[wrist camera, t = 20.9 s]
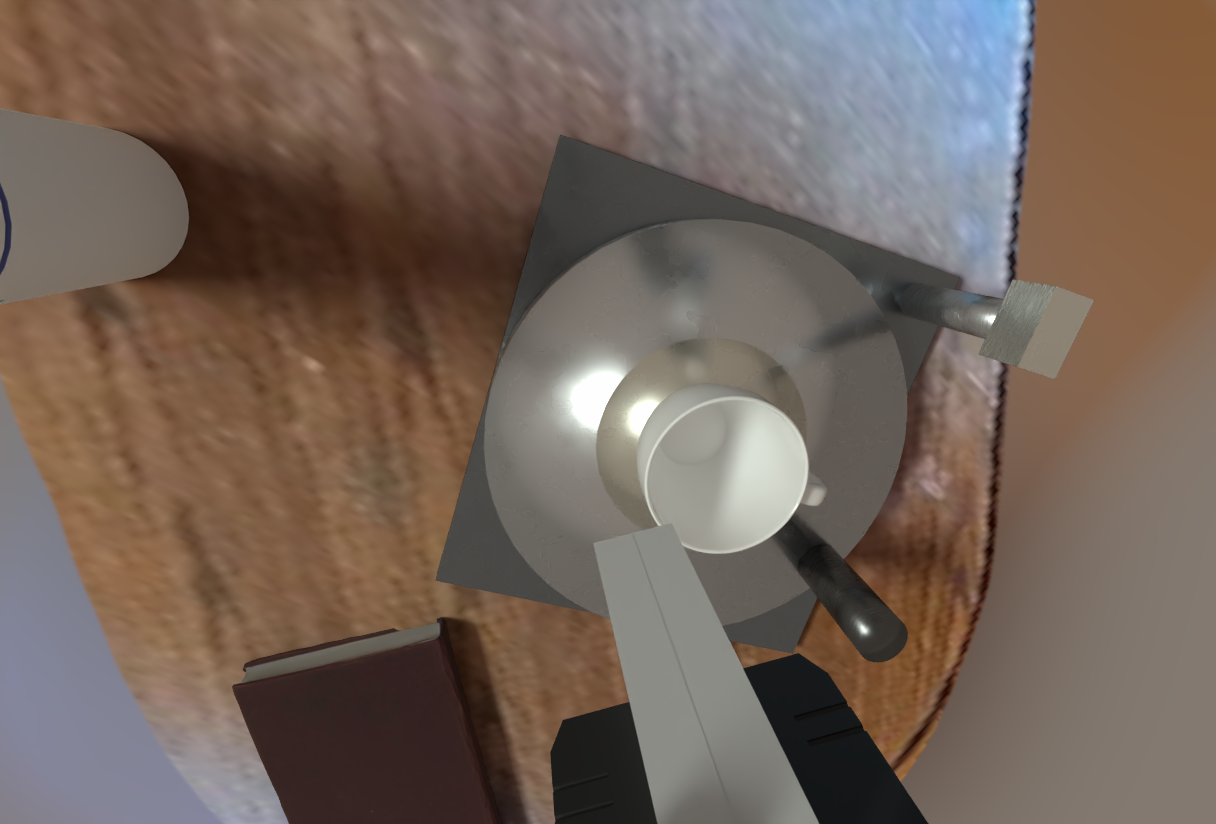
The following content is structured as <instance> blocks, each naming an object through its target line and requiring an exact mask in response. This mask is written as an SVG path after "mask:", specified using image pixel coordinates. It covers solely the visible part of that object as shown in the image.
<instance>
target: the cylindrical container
mask: <svg viewBox="0 0 1216 824" xmlns="http://www.w3.org/2000/svg"><path fill="white" fill-rule="evenodd" d="M188 224H189V213H188V203H187V200H186V197H185V194H184V190H183V187H182V186H181V184H180V182H179V180H178V178H177V176H176V174H175V173H174V171H173V170H172V169H171V167H170V166H169V165H168V163H167V162H166V161H165V160H164V159H163V158H162V157H161V156H160V155H159V154H158V153H157V152H156V151H155V150H153V149H152V148H151V147H149V146H148V145H146V144H145V143H143V142H142V141H141V140H138V139H136V138H134V137H132V136H130V135H128V134H126V133H123V132H120V131H116V130H112V129H109V128H104V127H99V126H93V125H88V124H82V123H77V122H71V121H66V120H60V119H55V118H50V117H44V116H39V115H33V114H28V113H23V112H17V111H12V110H7V109H2V108H0V305H1V304H6V303H11V302H16V301H22V300H27V299H32V298H37V297H42V296H48V295H53V294H58V293H63V292H68V291H74V290H79V289H84V288H89V287H94V286H100V285H105V284H110V283H115V282H120V281H126V280H131V279H136V278H141V277H145V276H147V275H150V274H153V273H156V272H157V271H159V270H161V269H162V268H164V267H165V266H167V265H168V264H169V263H170V262H171V261H172V260H173V259H174V258H175V257H176V256H177V254H178V253H179V251H180V250H181V248H182V246H183V244H184V241H185V238H186V236H187V232H188Z"/></svg>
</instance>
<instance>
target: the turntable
mask: <svg viewBox="0 0 1216 824" xmlns="http://www.w3.org/2000/svg"><path fill="white" fill-rule="evenodd" d="M698 383H725V384H731V385H735V386H739V387H743V388H745V389H748V390H750V391H753V392H755V393H757V394H758V395H760V396H762V397H763V398H765V399H766V400H768V401H769V402H771V403H772V404H773V405H775V406H776V407H777V408H779V409H780V410H781V411H782V412H784V413H785V414H786V415H787V416H788V417H789V418H790V419H791V420H792V421H793V422H794V424H795V425H796V426H797V428H798V429H799V431H800V433H801V434H802V436H803V439H804V441H805V444H806V447H807V451H808V457H809V471H810V472H812V473H813V474H815V475H816V476H817V477H819V478H820V479H821V480H822V481H823V482H824V484H825V485H826V487H827V494H826V496H825V499H824V501H823V502H822V503H821V504H820V505H818V506H809V505H804V504H800V505H799V506H798V508H797V510H796V511H795V513H794V514H793V516H792V517H791V518H790V520H789V521H788V522H787V523H786V524H785V525H784V526H783V527H782V528H781V529H780V530H779V531H778V532H777V533H775V534H774V535H773V536H771V537H770V538H768V539H767V540H765V541H764V542H762V543H760V544H758V545H756V546H754V547H751V548H748V549H746V550H742V551H738V552H734V553H726V554H710V553H703V552H698V551H695V550H692V549H689V548H686V547H684V546H683V547H684V549H685V551H686V553H687V555H688V558H689V560H690V562H691V564H692V566H693V568H694V570H695V572H696V574H697V576H698V578H699V580H700V582H701V584H702V586H703V588H704V590H705V592H706V594H707V596H708V598H709V600H710V602H711V604H712V606H713V608H714V611H715V613H716V615H717V617H718V619H719V621H720V623H721V625H722V626H723V625H728V624H732V623H737V622H740V621H743V620H746V619H749V618H752V617H755V616H758V615H761V614H763V613H766V612H768V611H770V610H772V609H774V608H776V607H778V606H780V605H783V604H785V603H787V602H788V601H790V600H791V599H793V598H795V597H796V596H798V595H800V594H801V593H803V592H805V591H806V590H808V589H809V588H810V589H811V590H812V591H813V593H814V594H815V595H816V597H817V598H818V599H819V600H820V602H821V603H822V604H823V606H824V607H825V608H826V610H827V611H828V612H829V613H830V615H831V616H832V617H833V619H834V620H835V621H836V623H837V624H838V625H839V626H840V628H841V629H842V630H843V632H844V633H845V634H846V636H847V637H848V638H849V639H850V641H851V642H852V643H853V645H854V646H855V647H856V649H857V650H858V651H859V652H860V654H861V655H862V656H863V657H864V658H865V659H867V660H869V661H872V662H883V661H887V660H890V659H892V658H893V657H895V656H896V655H897V654H899V653H900V652H901V650H902V649H903V648H904V646H905V644H906V641H907V636H908V633H907V629H906V627H905V625H904V624H903V623H902V621H901V620H900V619H899V618H898V617H897V616H896V615H895V614H894V613H893V612H892V611H891V610H890V609H889V607H888V606H887V605H886V604H885V603H884V602H883V601H882V600H881V599H880V598H879V597H878V596H877V595H876V593H875V592H874V591H873V590H872V589H871V588H870V587H869V586H868V585H867V584H866V583H865V582H864V580H863V579H862V578H861V577H860V576H859V575H858V574H857V573H856V572H855V571H854V570H853V569H852V568H851V566H850V565H849V564H848V563H847V562H846V561H845V560H844V558H845V557H846V556H847V555H848V554H849V553H850V552H851V550H852V549H853V548H854V547H855V546H856V545H857V543H858V542H859V541H860V540H861V539H862V537H863V536H864V535H865V533H866V532H867V530H868V529H869V527H870V526H871V524H872V523H873V521H874V520H875V518H876V517H877V515H878V513H879V511H880V509H881V507H882V505H883V503H884V501H885V500H886V498H887V496H888V494H889V492H890V489H891V486H892V484H893V481H894V478H895V476H896V473H897V470H898V467H899V463H900V459H901V455H902V451H903V447H904V442H905V434H906V424H907V388H906V381H905V375H904V369H903V363H902V360H901V357H900V353H899V350H898V347H897V344H896V340H895V338H894V336H893V333H892V331H891V329H890V327H889V325H888V323H887V321H886V318H885V316H884V314H883V313H882V311H881V310H880V308H879V307H878V305H877V304H876V302H875V301H874V299H873V298H872V296H871V295H870V293H869V292H868V291H867V290H866V289H865V288H864V286H863V285H862V284H861V283H860V282H859V281H858V280H857V279H856V278H855V276H854V275H853V274H852V273H851V272H850V271H848V270H847V269H846V268H845V267H844V266H842V265H841V264H840V263H839V262H838V261H836V260H835V259H834V258H833V257H832V256H830V255H829V254H827V253H826V252H824V251H822V250H821V249H819V248H817V247H816V246H814V245H812V244H811V243H809V242H807V241H805V240H803V239H801V238H798V237H796V236H793V235H791V234H789V233H786V232H784V231H781V230H779V229H775V228H771V227H767V226H763V225H759V224H755V223H751V222H742V221H732V220H723V219H685V220H677V221H671V222H665V223H659V224H654V225H650V226H647V227H644V228H641V229H638V230H634V231H631V232H628V233H625V234H623V235H621V236H619V237H616V238H614V239H612V240H610V241H608V242H606V243H604V244H602V245H600V246H598V247H596V248H594V249H593V250H591V251H590V252H588V253H587V254H585V255H584V256H582V257H581V258H579V259H578V260H576V261H574V262H573V263H572V264H570V265H569V266H568V267H567V268H566V269H565V270H563V271H562V272H561V273H560V274H559V275H558V276H556V277H555V278H554V279H553V280H552V281H551V282H550V283H549V284H548V285H547V286H546V287H545V288H544V289H543V290H542V292H541V293H540V294H539V295H538V296H537V297H536V298H535V299H534V300H533V302H532V303H531V304H530V305H529V307H528V308H527V310H526V311H525V313H524V314H523V315H522V317H521V318H520V320H519V321H518V323H517V324H516V326H515V327H514V329H513V331H512V333H511V335H510V337H509V339H508V341H507V343H506V345H505V347H504V349H503V351H502V353H501V355H500V358H499V361H498V364H497V367H496V370H495V373H494V376H493V379H492V383H491V388H490V393H489V399H488V404H487V410H486V417H485V433H484V454H485V465H486V475H487V479H488V483H489V487H490V492H491V496H492V500H493V503H494V505H495V508H496V510H497V513H498V515H499V518H500V520H501V523H502V525H503V527H504V529H505V530H506V532H507V534H508V536H509V537H510V539H511V541H512V543H513V544H514V546H515V548H516V549H517V550H518V552H519V553H520V554H521V555H522V557H523V558H524V559H525V561H526V562H527V563H528V565H529V566H530V567H531V568H532V569H533V570H534V571H535V572H536V573H537V574H538V575H539V576H540V577H541V578H542V579H543V580H544V581H545V582H546V583H547V584H548V585H550V586H551V587H552V588H554V589H555V590H556V591H558V592H559V593H560V594H562V595H563V596H564V597H566V598H567V599H569V600H570V601H572V602H574V603H576V604H578V605H579V606H581V607H583V608H585V609H587V610H588V611H590V612H593V613H595V614H598V615H600V616H603V617H605V618H608V619H610V614H609V610H608V605H607V601H606V597H605V592H604V588H603V584H602V579H601V575H600V571H599V566H598V562H597V558H596V553H595V549H594V544H593V543H596V542H599V541H603V540H607V539H611V538H615V537H619V536H623V535H627V534H630V533H634V532H638V531H642V530H646V529H650V528H654V527H658V524H657V523H656V521H655V520H654V518H653V516H652V514H651V512H650V510H649V508H648V506H647V503H646V501H645V499H644V496H643V493H642V490H641V487H640V483H639V479H638V474H637V464H636V455H637V446H638V441H639V437H640V434H641V431H642V428H643V426H644V424H645V422H646V420H647V418H648V417H649V415H650V414H651V412H652V411H653V410H654V409H655V407H656V406H657V405H658V404H659V403H660V402H661V401H662V400H664V399H665V398H666V397H667V396H669V395H670V394H672V393H674V392H675V391H677V390H679V389H681V388H684V387H687V386H690V385H694V384H698ZM610 620H611V619H610Z"/></svg>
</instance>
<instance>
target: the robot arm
mask: <svg viewBox="0 0 1216 824" xmlns="http://www.w3.org/2000/svg"><path fill="white" fill-rule="evenodd" d="M593 544H594V549H595V553H596V558H597V562H598V566H599V571H600V575H601V579H602V584H603V588H604V592H605V597H606V601H607V605H608V610H609V614H610V619H611V623H612V627H613V632H614V636H615V640H616V645H617V649H618V653H619V658H620V662H621V666H622V671H623V675H624V680H625V684H626V688H627V693H628V697H629V701H630V702H628V703H624V704H620V705H617V706H613V707H609V708H606V709H602V710H598V711H595V712H591V713H587V714H584V715H580V716H576V717H573V718H569V719H565V720H563V721H562V724H561V726H560V729H559V732H558V734H557V737H556V739H555V742H554V744H553V747H552V750H551V752H550V753H551V769H552V784H553V790H554V792H553V800H554V815H555V820H556V822H555V824H928V823H927V821H926V820H925V818H924V817H923V815H922V814H921V812H920V811H919V809H918V808H917V806H916V805H915V803H914V802H913V800H912V799H911V797H910V796H909V794H908V793H907V791H906V790H905V788H904V787H903V785H902V784H901V782H900V781H899V779H898V778H897V776H896V775H895V773H894V772H893V770H892V769H891V767H890V766H889V764H888V763H887V761H886V760H885V758H884V757H883V755H882V754H881V752H880V751H879V749H878V748H877V746H876V745H875V743H874V742H873V740H872V739H871V737H870V736H869V734H868V733H867V731H864V729H863V726H862V724H861V722H860V721H859V719H858V718H857V716H856V715H855V713H854V712H853V710H852V709H851V707H848V705H847V701H846V700H845V698H844V697H843V695H842V694H841V692H840V691H839V689H838V688H837V686H836V685H835V683H834V682H833V680H832V679H831V677H830V676H829V674H828V673H827V672H825V671H824V670H822V669H821V668H819V667H818V666H817V665H815V664H814V663H812V662H811V661H809V660H808V659H806V658H805V657H803V656H802V655H800V654H799V653H798V654H794V655H791V656H787V657H783V658H780V659H776V660H772V661H769V662H765V663H761V664H758V665H754V666H750V667H747V668H742V666H741V663H740V661H739V659H738V657H737V655H736V653H735V651H734V649H733V647H732V645H731V643H730V641H729V639H728V637H727V635H726V633H725V631H724V629H723V627H722V625H721V623H720V621H719V619H718V617H717V615H716V613H715V611H714V608H713V606H712V604H711V602H710V600H709V598H708V596H707V594H706V592H705V590H704V588H703V586H702V584H701V582H700V580H699V578H698V576H697V574H696V572H695V570H694V568H693V566H692V564H691V562H690V560H689V558H688V555H687V553H686V551H685V549H684V547H683V545H682V543H681V541H680V539H679V537H678V535H677V533H676V531H675V529H674V527H673V525H672V523H669V524H665V525H661V526H658V527H654V528H650V529H646V530H642V531H638V532H634V533H630V534H627V535H623V536H619V537H615V538H611V539H607V540H603V541H599V542H596V543H593Z"/></svg>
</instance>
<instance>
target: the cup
mask: <svg viewBox="0 0 1216 824" xmlns="http://www.w3.org/2000/svg"><path fill="white" fill-rule="evenodd" d="M636 464H637V474H638V479H639V483H640V487H641V490H642V493H643V496H644V499H645V501H646V503H647V506H648V508H649V510H650V512H651V514H652V516H653V518H654V520H655V521H656V523H657V524H658V526H661V525H665V524H669V523H672V525H673V527H674V529H675V531H676V533H677V535H678V537H679V539H680V541H681V543H682V545H683V546H684V547H686V548H689V549H692V550H695V551H698V552H703V553H710V554H726V553H734V552H738V551H742V550H746V549H748V548H751V547H754V546H756V545H758V544H760V543H762V542H764V541H765V540H767V539H768V538H770V537H771V536H773V535H774V534H775V533H777V532H778V531H779V530H780V529H781V528H782V527H783V526H784V525H785V524H786V523H787V522H788V521H789V520H790V518H791V517H792V516H793V514H794V513H795V511H796V510H797V508H798V506H799V505H800V504H804V505H809V506H818V505H820V504H821V503H822V502H823V501H824V499H825V496H826V494H827V487H826V485H825V484H824V482H823V481H822V480H821V479H820V478H819V477H817V476H816V475H815V474H813V473H812V472H810V471H809V457H808V451H807V447H806V444H805V441H804V439H803V436H802V434H801V433H800V431H799V429H798V428H797V426H796V425H795V424H794V422H793V421H792V420H791V419H790V418H789V417H788V416H787V415H786V414H785V413H784V412H782V411H781V410H780V409H779V408H777V407H776V406H775V405H773V404H772V403H771V402H769V401H768V400H766V399H765V398H763V397H762V396H760V395H758V394H757V393H755V392H753V391H750V390H748V389H745V388H743V387H739V386H735V385H731V384H725V383H698V384H694V385H690V386H687V387H684V388H681V389H679V390H677V391H675V392H674V393H672V394H670V395H669V396H667V397H666V398H665V399H664V400H662V401H661V402H660V403H659V404H658V405H657V406H656V407H655V409H654V410H653V411H652V412H651V414H650V415H649V417H648V418H647V420H646V422H645V424H644V426H643V428H642V431H641V434H640V437H639V441H638V446H637V455H636Z"/></svg>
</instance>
